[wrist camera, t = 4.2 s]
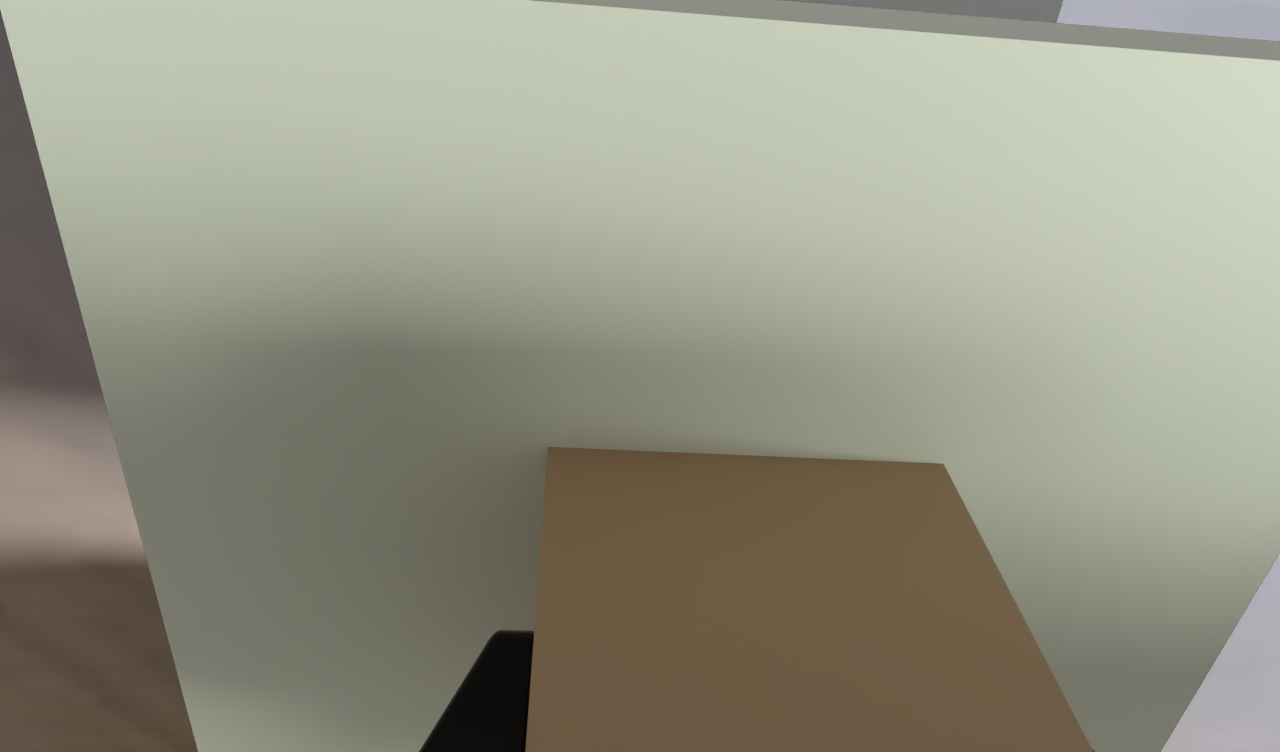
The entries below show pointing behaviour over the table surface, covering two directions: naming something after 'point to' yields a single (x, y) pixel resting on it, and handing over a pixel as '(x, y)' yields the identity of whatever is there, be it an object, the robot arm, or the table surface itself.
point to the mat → (965, 7)
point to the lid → (676, 361)
